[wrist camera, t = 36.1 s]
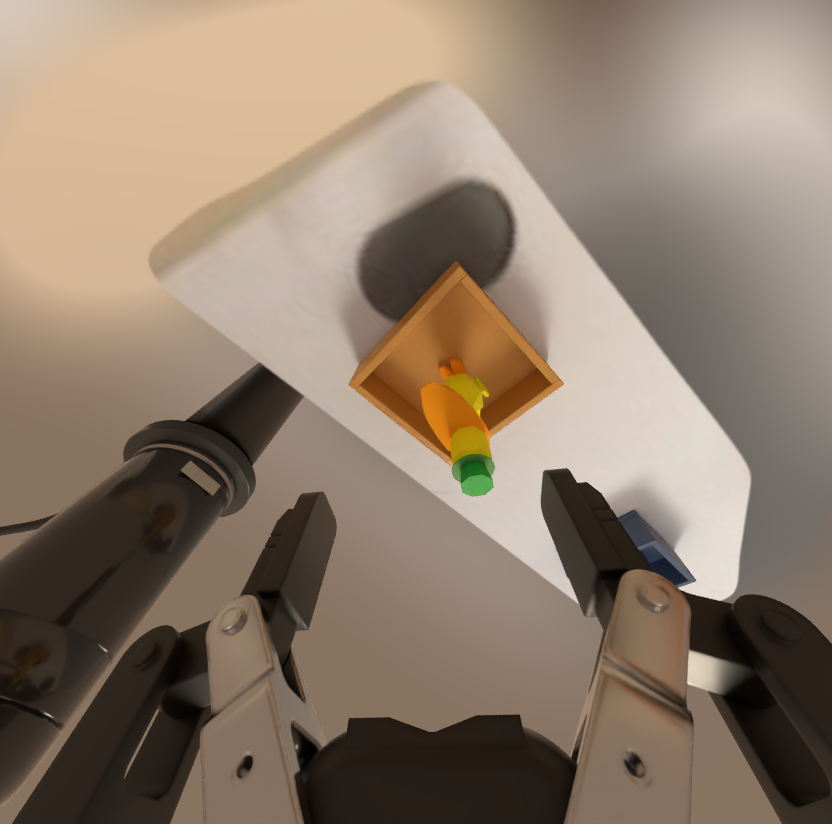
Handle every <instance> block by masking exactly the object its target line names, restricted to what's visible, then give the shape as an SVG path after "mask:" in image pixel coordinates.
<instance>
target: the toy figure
mask: <svg viewBox="0 0 832 824" xmlns="http://www.w3.org/2000/svg"><path fill="white" fill-rule="evenodd" d="M450 363H451V368H452V370H451V368H450V367H448V366H447V365H445V364H442V365H441V366H439V367H438V369H439V372H440V375H441V377H442V378H443V379H444V380H445V382H444V383H443V384H440V383H436V382H427V383H426V384H425V385H424V386H423V387H422V388H421V398H422V407H423V410H424V413H425V416H426V419H427V421H428V423H429V424H430V426H431V428H432V429H433V431H434V433H435V434H436V436H437V437H438V439H439V440H440V441H441V443H442V444H443V445H444V446H445V448H446V449H447V450H448V451H450V452H451V459H452V465H453V467H452V474H453V476H454V478H455V479H456V480H457V481H459V482H461V488H462V493H465V494H467V495H470V496H472V497H473V496H479V495H485V494H486V493H487V492H489V491H490V490H491V489H492V488H493V480H492V477H491V475H492V474H493V472H494V469H495V466H494V463H493V461H492V456H491V452H490V447H489V430H488V428H487V426H486V425H485V423H484V422H483V421H482V419H481V418H480V409H481V408H482V407H483V400H482V394H483V395H484V396H485V397H488V396H489V393H488V390H487V388H486V387H485V385H484V384H483V382H482V381H481V380H480V379H479V378H478V376H477V375H475V378H476V379H474V378H472V377H471V376H469V375H467V373H466V370H465V368H464V365H463V363H462V362H461V361H460V360H459V359H458V358H456V357H454V358H452V359H451V360H450ZM453 372H454V373H455V374H456V375H454V373H453Z"/></svg>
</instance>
